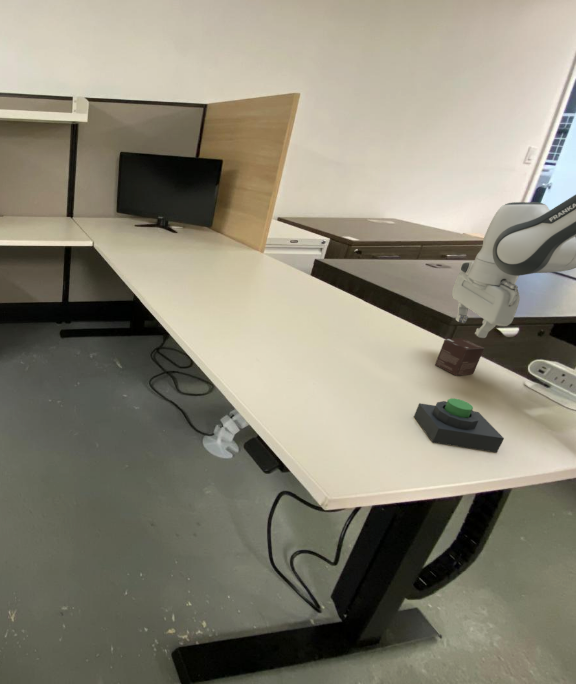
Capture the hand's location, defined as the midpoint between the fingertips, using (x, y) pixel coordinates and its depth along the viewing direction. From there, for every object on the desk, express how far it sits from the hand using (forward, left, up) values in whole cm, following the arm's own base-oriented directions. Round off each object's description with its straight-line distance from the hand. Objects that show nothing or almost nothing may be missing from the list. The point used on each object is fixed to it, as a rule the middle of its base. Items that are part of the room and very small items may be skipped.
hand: (469, 328), depth 113 cm
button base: (+14, +32, -11) cm, 37 cm away
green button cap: (+15, +32, -7) cm, 36 cm away
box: (0, 0, -11) cm, 11 cm away
